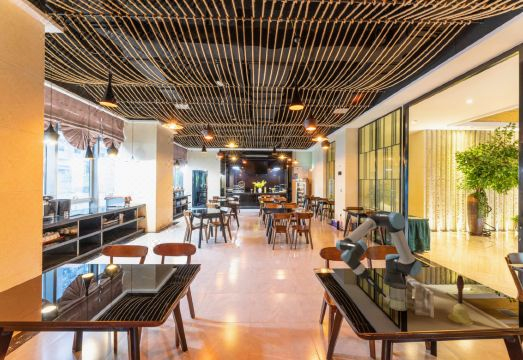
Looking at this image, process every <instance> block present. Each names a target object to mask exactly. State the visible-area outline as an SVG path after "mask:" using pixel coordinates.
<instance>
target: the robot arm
mask: <svg viewBox="0 0 523 360" xmlns="http://www.w3.org/2000/svg"><path fill="white" fill-rule="evenodd" d="M405 226H406V219H405V217H404V215H403V214H402V213H400V212H397V211H384V210H378V211H376V212H373V213H372V214H370V215H368V216H367V217H366V218H364V221H363V222H362V223H361V224H360V225H359V226H358V227H357V228H355V229H354V230H352V232H350V234H348V235H347V236H346V237H345V238H344V239H338V240H337V241H336V243H335V247H336V249H337V250H338V251H340V252H342V253H341V255H340V258H341V261H343V262H344V263H345V264H346V265H347V266H348V268H350V269H351V271H352V272H353V273H355V275H357V277H358V278H359V279H360V280H362V281H363V280H365V281H366V282H367V283H368V284H369V285H370V286H371V287H372V288H374V290H376V292H377V293H378V295H380V296H382V298H383V299H384V300H385V301H386V302H388V303H389V302H390V300H391V299H390V295H388V294H387V293H386V292H385V291H384V290H383V288H382V287H380V286H379V284H377V283H376V281H375V280H374V278H373V277H372V276H371V275H370V274H371V272H370V270H369V269H368V268H367V267H366V266H365V264H363V262H361V261H360V259H361V257H362V256H363V255H364V254H365V253H366V251H367V250H368V245H367V243H366V242H365V241H364V240H362V239H363V238H364V237H365V236H366V235H367V234H368V233H370V232H371V231H372V230H375V229H376V228H377V227H382V228H385V229H386V232H387V233H389V234H390V236H391V238H392V241H393V243H394V246H395V249H396V251H397V253H389V254H386V255H385V260H384V261H385V273H384V276H383V279H382V280H383V281H382V282H383V284H385V285H388V286H389V283H392V282H397V283H402V284H405V281H404V277H403V274H405V275H408V276H410V277H418V276H419V275H420V274H421V271H422V266H423V265H422V262H421V261H419V260H417V259H416V257H415V255H413V253H412V252H411V249H410V246H409V244H408V241H407V239H406V236H405V233H404V228H405Z"/></svg>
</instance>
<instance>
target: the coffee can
mask: <svg viewBox="0 0 523 360" xmlns="http://www.w3.org/2000/svg"><path fill="white" fill-rule="evenodd" d="M388 286H389V287H388V288H389V297H390V299H391V300H390V301H389V304H388V305H389V308H391V309H393V310H395V311H401V312H405V311H408V305H407V285H406V283H404V284H402V283H397V282H392V283H389V285H388Z"/></svg>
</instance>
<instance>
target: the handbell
mask: <svg viewBox="0 0 523 360" xmlns="http://www.w3.org/2000/svg"><path fill="white" fill-rule="evenodd" d="M464 283H465V281H464V277H463V275H460V274H459V275H457V278H456V288H457V304H454V305H453V310H452V312H451V313H450V314H448V315H447V318H448V319H449V320H450V321H453V322H455V323H457V324H460V323H463V324H462V325H466V324H470V323H473V322H474V320H473V319H472V318H471V317H470V316H469V315H468V314H469V313H468V311H469V310H468V308H467V307H466V306H464V302H463V300H464V299H463V292H464V288H465V284H464Z"/></svg>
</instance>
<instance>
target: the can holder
mask: <svg viewBox="0 0 523 360" xmlns="http://www.w3.org/2000/svg"><path fill="white" fill-rule="evenodd" d="M404 278H405V279H404V280H405V285H407V306H414V314H415V316H427V317H428V316H429V317H430V318H433V319H435V315H434V314H435V313H434V311H435V310H434V309H435V308H434V305H435V304H434V303H435V302H434V300H435V299H434V292H433V291H432V290H430V289H429V288H428V287H427V286H425V285H424V284H423V283H422V282H421V281H420V282H418V281H417V280H416V279H415V278H413V276H406V275H405V277H404ZM413 288H414V292H413ZM413 293H414V297H413Z"/></svg>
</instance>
